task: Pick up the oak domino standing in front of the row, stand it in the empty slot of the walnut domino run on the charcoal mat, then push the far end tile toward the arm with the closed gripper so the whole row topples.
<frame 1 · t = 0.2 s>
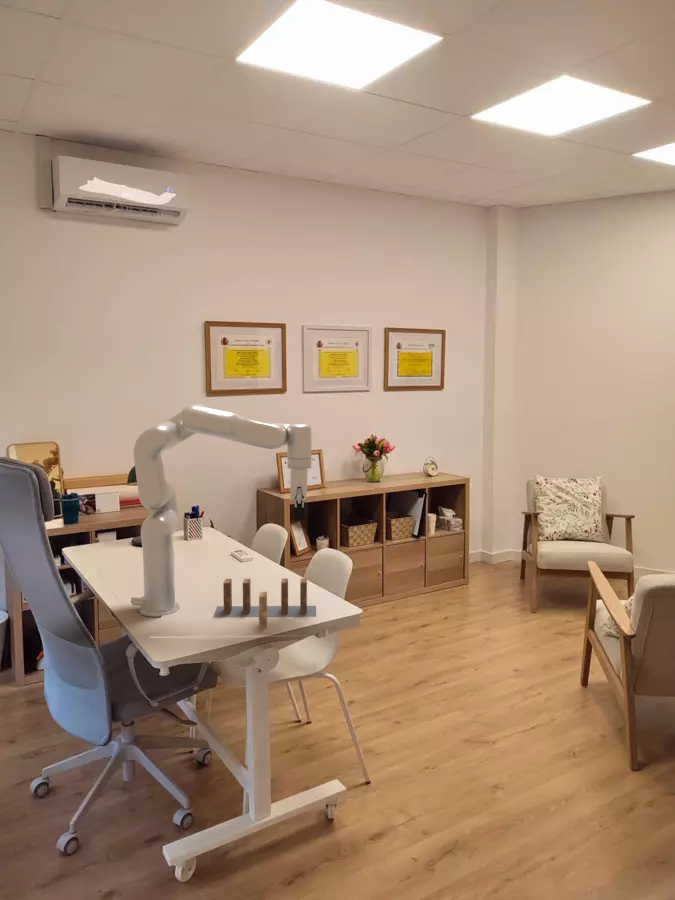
hand: (299, 516, 219), 30 cm above the table, tool pointing down, fingers open, 9 cm apart
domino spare: (263, 626, 207), on the table
domino a: (227, 611, 219), resting on mat
domino e: (303, 611, 220), resting on mat
domino b: (246, 611, 219), resting on mat
domino d: (284, 611, 219), resting on mat
mat: (265, 612, 219), on the table
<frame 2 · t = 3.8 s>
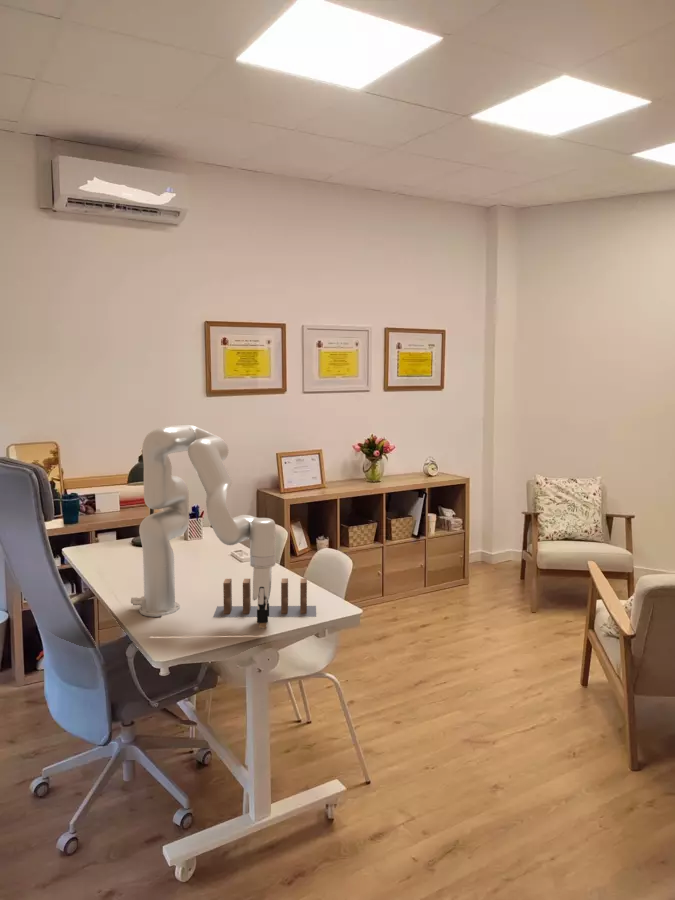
hand: (263, 618, 207), 2 cm above the table, tool pointing down, fingers closed on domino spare, 4 cm apart
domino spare: (263, 626, 207), on the table, touching gripper
everything else where it was.
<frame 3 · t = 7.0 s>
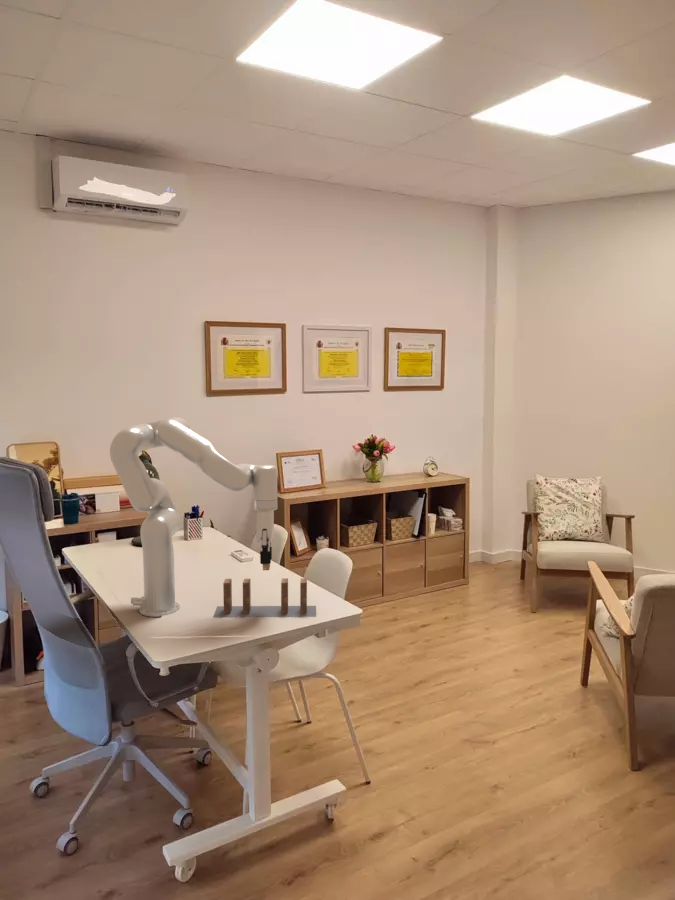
hand: (266, 560, 217), 17 cm above the table, tool pointing down, fingers closed on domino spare, 4 cm apart
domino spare: (266, 568, 218), point 14 cm above the table, touching gripper
everything else where it was.
when the fingers open (4 cm above the table, at t = 10.0 s): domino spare stays where it is, resting on mat.
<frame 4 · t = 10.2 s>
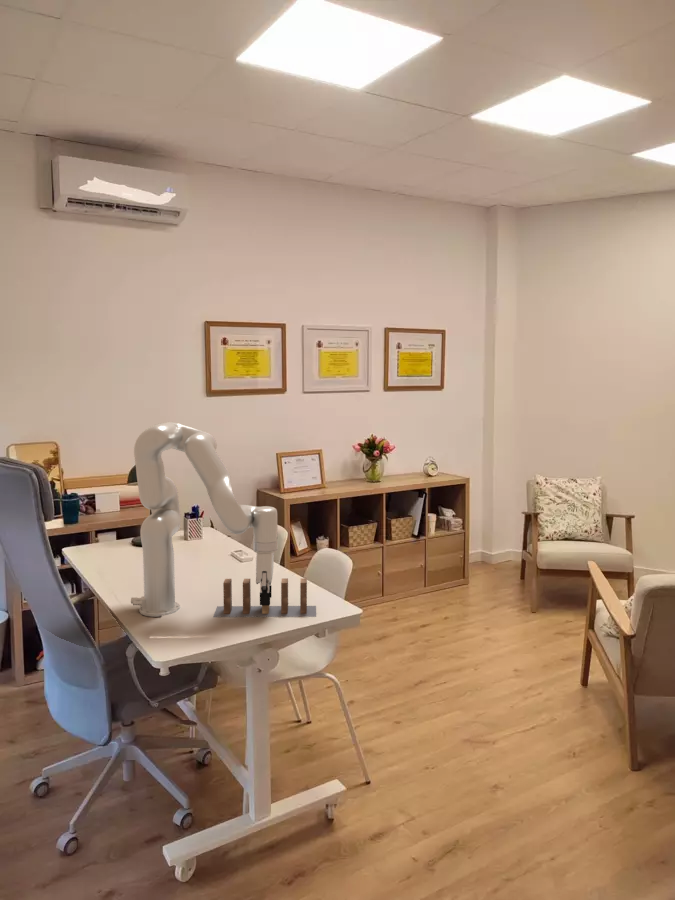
hand: (265, 600, 219), 4 cm above the table, tool pointing down, fingers open, 6 cm apart
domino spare: (265, 611, 219), resting on mat
everything else where it was.
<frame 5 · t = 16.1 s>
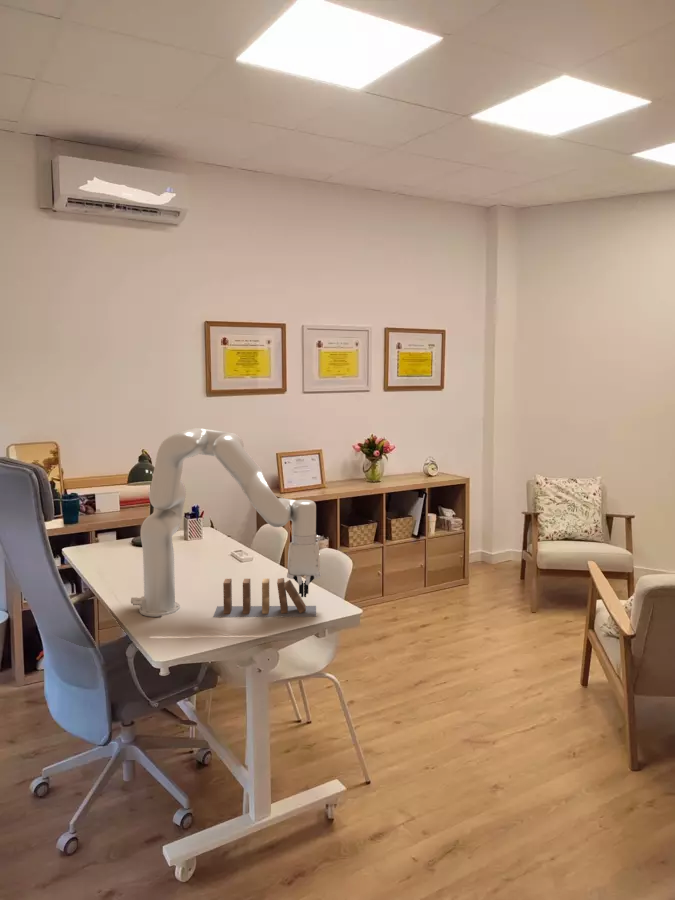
hand: (303, 595, 219), 5 cm above the table, tool pointing down, fingers closed
domino e: (303, 609, 220), point 1 cm above the table, tilted 30°, touching mat
domino d: (284, 610, 219), point 1 cm above the table, tilted 7°, touching mat
everything else where it was.
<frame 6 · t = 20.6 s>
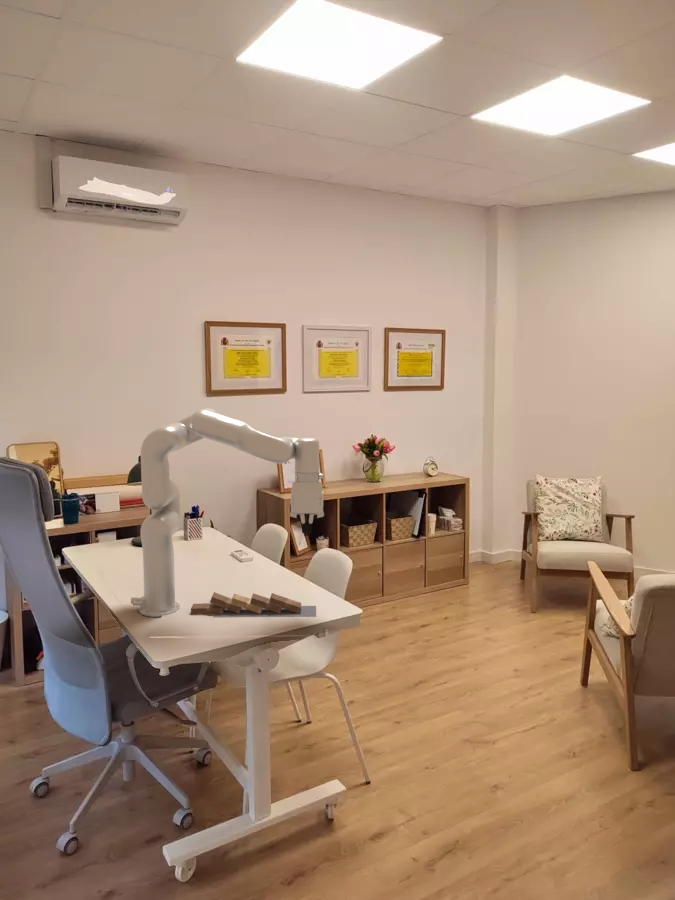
hand: (306, 535, 217), 25 cm above the table, tool pointing down, fingers closed
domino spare: (262, 608, 219), point 1 cm above the table, tilted 71°, touching domino b, domino d, mat
domino a: (223, 608, 218), point 1 cm above the table, tilted 91°, touching domino b, mat
domino e: (300, 608, 219), point 1 cm above the table, tilted 70°, touching domino d, mat
domino b: (241, 608, 219), point 1 cm above the table, tilted 68°, touching domino a, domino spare, mat
domino d: (281, 608, 219), point 1 cm above the table, tilted 71°, touching domino e, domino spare, mat
at the end: domino a tilted 91°; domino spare inside the target area (0.9 cm from its centre), point 1.3 cm above the table; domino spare tilted 71° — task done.
